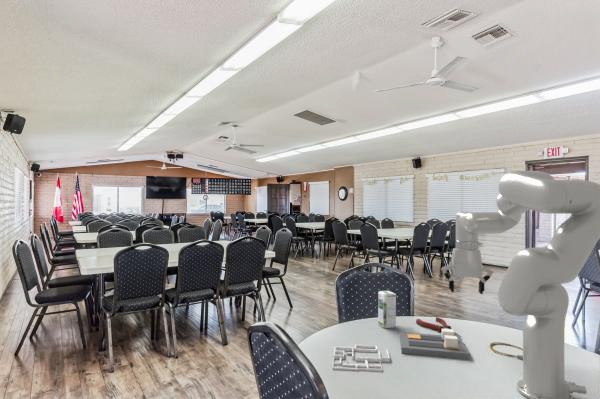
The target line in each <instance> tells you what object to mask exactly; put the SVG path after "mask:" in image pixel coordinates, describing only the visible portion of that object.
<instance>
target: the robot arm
mask: <svg viewBox="0 0 600 399" xmlns="http://www.w3.org/2000/svg"><path fill="white" fill-rule="evenodd" d="M498 192H499V194H498V195H497V196H496V201H495V202H496V206H497V208H498V211H479V212H478V211H477V212H476V211H475V212H474V211H459V212H457V213H455V214H456V215H455V247H454V248H453V249H452V253H451V261H450V263H449V264H447V265H444V266H442V267H441V268H440V270H441V271H442V273H443V275H444V277H445V278H446V279H447V280H448V289H449V290H450V291H451V293H454V291H455V281H454V279H456V277H459V278H460V277H461V278H463V277H464V278H478V279H479V281H478V293H479V294H480V295H483V292H485V284H486V282H487V281H488V280H489V279H490V278H491V276H492V275H493V273H494V271H493V270H492V269H490V268H488V267H486V266H484V265H483V260H482V259H483V258H482V254H481V250H480V247H483V246H484V245H483V244H484V243H483V242H480V241H479V235H485V234H486V235H488V234H489V235H490V234H491V235H493V234H494V235H498V234H502V233H505V232H507V231H509V230H511V229H513V228H515V227H516V226H517V225H518V224H519V223H520V221H521V218H522V215H523V214H524V213H526V212H527V211H529V210H531V211H534V212H538V213H541V214H548V215H550V214H555V215H557V214H561V215H562V214H567V215H569V214H571V215H570V216H569V217H568V218H567V219H566V220H564V221H563V222H562V223H561V224H560V225H559V226H558V227H557V229H556V230H555V231H554V233H553V236H552V238H551V239H550V240H549V242H548V243H547V245H545V246H542V247H540V246H539V247H527V248H523V249H521V250H519V251H518V252H516V254H515V255H514V256H513V258H511V261H510V263H509V265H508V268H507V269H506V272H505V274H504V277H503V278H502V280H501V282H500V286H499V287H498V291H497V292H498V294H497V298H498V303H499V306H500V307H501V309H502V310H503V311H504V312H505V313H507V314H509V315H511V316H514V317H515V316H516V317H517V316H518V317H525V318H524V320H523V325H522V349H523V350H522V355H523V360H522V369H523V370H522V375H523V376H522V379H519V381H517V382H516V389H517V391H518V392H519V393H520V394H521V395H522V396H524V397H526V398H527V399H573V396H572V394H573V393H577V394H581V395H582V394H583V395H585V394H587V388H586V386H584V385H578V384H576V382H575V381H566V379H565V375H566V374H565V372H566V371H565V370H566V369H565V327H566V319H567V317H566V316H567V313H568V309H569V305H570V304H569V303H570V301H569V298H570V297H569V294H568V292H567V289H566V288H565V286H563V284H570V283H571V282H573V281H574V280H575V279H577V277H578V276H579V274H580V272H581V270H582V269H583V267H584V265H585V264H586V262H587V260H588V258H589V257H590V255H591V254H592V252H593V250H594V248H595V246H596V245H597V243H598V242H599V240H600V184H599V183H597V182H594V181H591V180H583V179H556V178H554V176H553V175H551V174H550V173H548V172H545V171H542V170H541V171H539V170H513V171H512V170H511V171H509V172H506V173H505V174H504V175H503V176H502V177H501V178H500V180H499V183H498ZM447 270H450V272H451V274H448V272H447ZM483 271H484V272H486V273H485V275H484V276H483Z"/></svg>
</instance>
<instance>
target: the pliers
mask: <svg viewBox="0 0 600 399" xmlns="http://www.w3.org/2000/svg"><path fill="white" fill-rule="evenodd" d="M435 322H436V323H438V322H439V323H438V324H441V325H438V324H434V323H430V322H427V321H423V320H421V318H416V320H415V324H417V325H418V326H420V327H422V328H425V329H428V330H432V331H436V332H437V333H439V334H441V329H452V326H450V325H448V324H447V322H446V321H445V319H443V318H440V317H439V316H438V317H435ZM454 336H457V337H460V338H462V336H461V334H459V333H457V332H456V331H454Z"/></svg>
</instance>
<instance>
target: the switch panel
mask: <svg viewBox="0 0 600 399" xmlns="http://www.w3.org/2000/svg"><path fill="white" fill-rule="evenodd" d="M456 337H457V336H456ZM457 338H458V348H453V347H446V346H445V344H444V340H443V339H442V337H441V334H429V333H419V332H418V333H417V332H409V331H408V332H405V331H400V332H399V340H400V349H401V354H406V355H418V356H425V357H426V356H429V357H438V358H448V359H449V358H450V359H457V360H458V359H459V360H470V352H469V351H468V349H467V347H466V346H465V344H464V341H463V339H462V337H457Z"/></svg>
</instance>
